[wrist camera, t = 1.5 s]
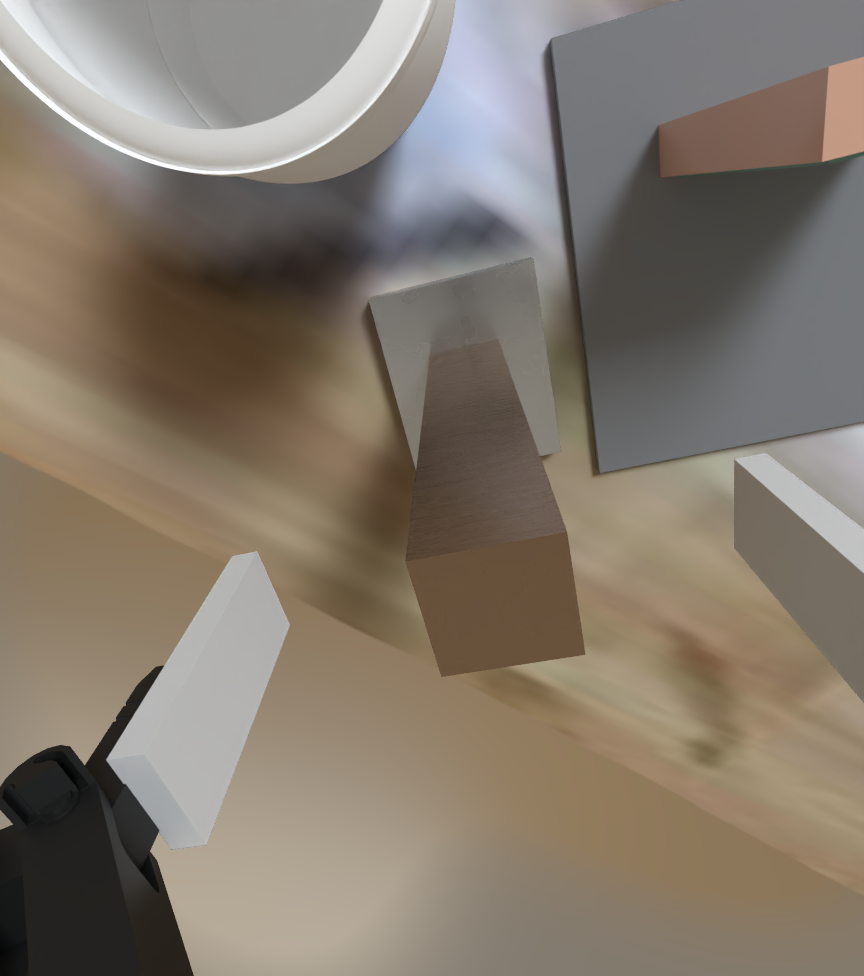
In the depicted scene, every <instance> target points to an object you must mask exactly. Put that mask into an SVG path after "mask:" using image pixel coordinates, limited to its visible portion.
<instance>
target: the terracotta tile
mask: <svg viewBox="0 0 864 976" xmlns="http://www.w3.org/2000/svg"><path fill="white" fill-rule="evenodd" d="M658 132H659V154H660V177H670V176H677V178H680V177H692V176H703V175H715V174H726V173H738V172H749V171H761V170H772V169H784V168H795V167H806V166H818V165H829V164H833V163H837V162H841V161H844V160H848V159H852V158H856V157H860V156H864V57H861V58H858V59H854V60H850V61H847V62H843V63H839V64H836V65H832V66H829V67H826V68H823V69H820V70H817V71H814V72H811V73H808V74H805V75H802V76H800V77H797V78H794V79H791V80H788V81H785V82H782V83H779V84H776V85H773V86H771V87H768V88H765V89H762V90H759V91H756V92H753V93H750V94H747V95H744V96H742V97H739V98H736V99H733V100H730V101H727V102H724V103H721V104H718V105H715V106H713V107H710V108H707V109H704V110H701V111H698V112H695V113H692V114H689V115H686V116H684V117H681V118H678V119H675V120H672V121H669V122H666V123H663V124H660V125H658Z"/></svg>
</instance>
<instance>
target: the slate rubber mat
mask: <svg viewBox="0 0 864 976" xmlns="http://www.w3.org/2000/svg"><path fill="white" fill-rule="evenodd" d="M550 50H551V59H552V68H553V76H554V85H555V94H556V103H557V112H558V121H559V130H560V138H561V147H562V156H563V165H564V174H565V183H566V191H567V200H568V209H569V218H570V227H571V236H572V245H573V253H574V262H575V271H576V280H577V289H578V298H579V307H580V315H581V324H582V333H583V342H584V351H585V360H586V369H587V377H588V386H589V395H590V404H591V413H592V422H593V431H594V439H595V448H596V457H597V466H598V470H599V472H600V473H604V472H609V471H614V470H619V469H624V468H629V467H634V466H640V465H645V464H650V463H655V462H660V461H665V460H670V459H675V458H680V457H686V456H691V455H696V454H701V453H706V452H711V451H716V450H721V449H727V448H732V447H737V446H742V445H747V444H752V443H757V442H762V441H767V440H773V439H778V438H783V437H788V436H793V435H798V434H803V433H808V432H814V431H819V430H824V429H829V428H834V427H839V426H844V425H849V424H854V423H860V422H864V156H860V157H856V158H852V159H848V160H844V161H841V162H837V163H833V164H829V165H818V166H806V167H795V168H784V169H772V170H761V171H749V172H738V173H726V174H715V175H703V176H692V177H680V178H677V176H670V177H660V154H659V132H658V125H660V124H663V123H666V122H669V121H672V120H675V119H678V118H681V117H684V116H686V115H689V114H692V113H695V112H698V111H701V110H704V109H707V108H710V107H713V106H715V105H718V104H721V103H724V102H727V101H730V100H733V99H736V98H739V97H742V96H744V95H747V94H750V93H753V92H756V91H759V90H762V89H765V88H768V87H771V86H773V85H776V84H779V83H782V82H785V81H788V80H791V79H794V78H797V77H800V76H802V75H805V74H808V73H811V72H814V71H817V70H820V69H823V68H826V67H829V66H832V65H836V64H839V63H843V62H847V61H850V60H854V59H858V58H861V57H864V0H679V1H675V2H672V3H669V4H665V5H662V6H659V7H655V8H652V9H649V10H645V11H642V12H638V13H635V14H632V15H628V16H625V17H622V18H618V19H615V20H612V21H608V22H605V23H601V24H598V25H595V26H591V27H588V28H585V29H581V30H578V31H575V32H571V33H568V34H564V35H561V36H558V37H554V38H551V40H550Z"/></svg>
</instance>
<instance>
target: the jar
mask: <svg viewBox="0 0 864 976" xmlns="http://www.w3.org/2000/svg"><path fill="white" fill-rule="evenodd" d="M455 2H456V0H0V60H1V61H2V62H3V63H4V64H5V65H6V66H7V68H8V69H9V70H10V71H11V72H12V73H13V74H14V75H15V76H16V77H17V78H18V79H19V80H20V81H21V82H22V83H23V84H24V85H25V86H26V87H28V88H29V89H30V90H31V91H32V92H33V93H34V94H35V95H36V96H37V97H39V98H40V99H41V100H42V101H43V102H44V103H46V104H47V105H48V106H49V107H51V108H52V109H53V110H54V111H56V112H57V113H58V114H59V115H61V116H62V117H64V118H65V119H66V120H68V121H69V122H70V123H72V124H73V125H75V126H76V127H78V128H79V129H81V130H82V131H84V132H86V133H87V134H89V135H90V136H92V137H94V138H96V139H97V140H99V141H101V142H103V143H105V144H107V145H108V146H110V147H112V148H114V149H116V150H119V151H121V152H123V153H125V154H128V155H130V156H132V157H135V158H137V159H140V160H143V161H146V162H149V163H152V164H155V165H158V166H162V167H166V168H170V169H174V170H179V171H184V172H189V173H195V174H201V175H208V176H223V177H235V176H238V177H242V178H246V179H250V180H255V181H261V182H268V183H279V184H301V183H311V182H317V181H323V180H327V179H331V178H334V177H338V176H341V175H343V174H346V173H349V172H351V171H353V170H355V169H357V168H359V167H361V166H363V165H365V164H367V163H368V162H370V161H371V160H373V159H374V158H376V157H377V156H379V155H380V154H381V153H383V152H384V151H385V150H386V149H387V148H389V147H390V146H391V145H392V144H393V143H394V142H395V141H396V140H397V139H398V138H399V137H400V136H401V135H402V134H403V133H404V131H405V130H406V129H407V128H408V127H409V125H410V124H411V123H412V121H413V120H414V119H415V117H416V116H417V114H418V113H419V111H420V110H421V108H422V106H423V105H424V103H425V101H426V99H427V98H428V96H429V94H430V92H431V90H432V87H433V85H434V83H435V81H436V78H437V76H438V73H439V71H440V68H441V65H442V62H443V59H444V56H445V53H446V49H447V45H448V41H449V37H450V33H451V28H452V23H453V17H454V10H455Z"/></svg>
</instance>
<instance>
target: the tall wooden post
mask: <svg viewBox="0 0 864 976" xmlns="http://www.w3.org/2000/svg"><path fill="white" fill-rule="evenodd" d="M369 303H370V307H371V311H372V314H373V318H374V321H375V325H376V329H377V332H378V336H379V339H380V343H381V347H382V350H383V354H384V357H385V361H386V365H387V368H388V372H389V375H390V379H391V383H392V386H393V390H394V393H395V397H396V401H397V404H398V408H399V411H400V415H401V419H402V422H403V426H404V429H405V433H406V437H407V440H408V444H409V447H410V451H411V455H412V458H413V462H414V465H415V469H416V476H415V485H414V494H413V502H412V511H411V520H410V528H409V537H408V545H407V554H406V564H407V568H408V571H409V574H410V577H411V580H412V584H413V587H414V590H415V593H416V596H417V600H418V603H419V606H420V609H421V612H422V616H423V619H424V622H425V625H426V628H427V632H428V635H429V638H430V641H431V644H432V648H433V651H434V654H435V657H436V660H437V664H438V667H439V670H440V673H441V676H442V677H443V676H450V675H456V674H463V673H469V672H476V671H482V670H489V669H495V668H502V667H508V666H515V665H521V664H528V663H534V662H540V661H547V660H553V659H560V658H566V657H573V656H579V655H585V649H584V642H583V636H582V629H581V622H580V616H579V609H578V602H577V596H576V589H575V582H574V575H573V569H572V562H571V555H570V549H569V542H568V535H567V531H566V528H565V525H564V522H563V519H562V517H561V514H560V511H559V508H558V505H557V503H556V500H555V497H554V494H553V491H552V489H551V486H550V483H549V480H548V477H547V475H546V472H545V469H544V466H543V463H542V460H541V458H540V456H543V455H548V454H553V453H558V452H561V447H560V440H559V433H558V426H557V419H556V412H555V405H554V398H553V391H552V384H551V377H550V370H549V363H548V356H547V349H546V342H545V335H544V328H543V321H542V314H541V308H540V301H539V294H538V287H537V280H536V273H535V266H534V259H532V258H531V257H530V258H526V259H522V260H518V261H514V262H510V263H506V264H502V265H498V266H494V267H490V268H486V269H481V270H477V271H473V272H469V273H465V274H461V275H457V276H453V277H449V278H445V279H441V280H437V281H433V282H429V283H425V284H421V285H417V286H413V287H409V288H405V289H401V290H397V291H393V292H389V293H385V294H381V295H377V296H373V297H371V298H370V299H369Z"/></svg>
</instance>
